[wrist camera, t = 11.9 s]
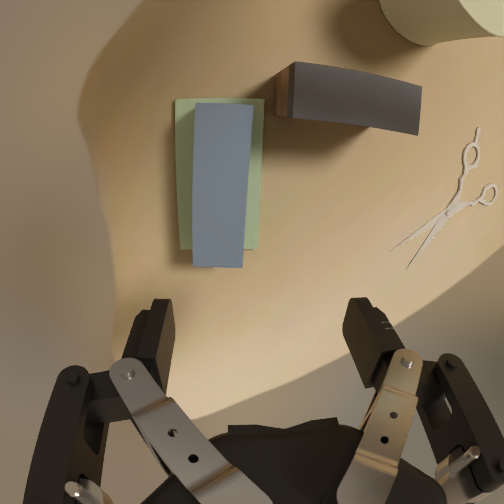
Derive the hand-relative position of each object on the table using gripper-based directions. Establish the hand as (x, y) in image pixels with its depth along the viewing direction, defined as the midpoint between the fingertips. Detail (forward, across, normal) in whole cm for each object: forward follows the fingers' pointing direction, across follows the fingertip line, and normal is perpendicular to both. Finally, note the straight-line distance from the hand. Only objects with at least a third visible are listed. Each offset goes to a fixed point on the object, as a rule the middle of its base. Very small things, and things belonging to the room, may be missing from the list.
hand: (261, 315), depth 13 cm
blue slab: (+18, +2, -2) cm, 18 cm away
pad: (+18, +2, -2) cm, 19 cm away
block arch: (+19, -8, -10) cm, 22 cm away
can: (+19, -17, -23) cm, 35 cm away
